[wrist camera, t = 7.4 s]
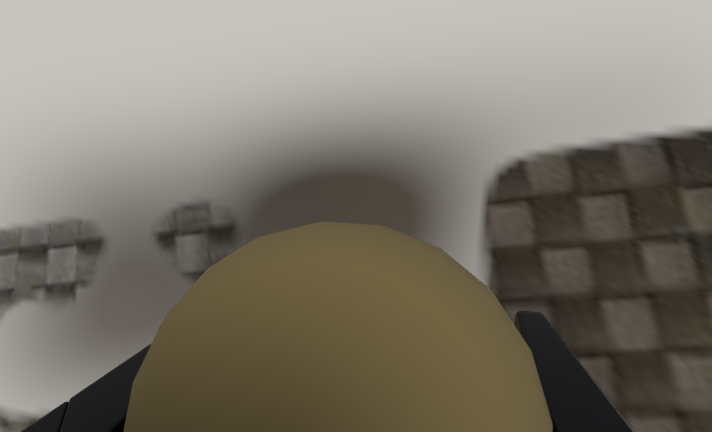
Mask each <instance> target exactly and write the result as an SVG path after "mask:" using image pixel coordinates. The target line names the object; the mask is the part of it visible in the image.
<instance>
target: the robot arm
mask: <svg viewBox="0 0 712 432" xmlns="http://www.w3.org/2000/svg"><path fill="white" fill-rule="evenodd" d="M514 325H515V327H516V328H517V330H518V331H519V333H520V334H521V336H522V337H523V339H524V340H525V342H526V344H527V345H528V347H529V348H530V350H531V351H532V355H533V358H534V362H535V365H536V369H537V372H538V375H539V379H540V382H541V386H542V389H543V393H544V396H545V399H546V403H547V406H548V410H549V413H550V417H551V420H552V423H553V432H634V431H633V430H632V428H631V427H630V426H629V424H628V423H627V422H626V421H625V419H624V418H623V417H622V415H621V414H620V413H619V412H618V410H617V409H616V408H615V406H614V405H613V404H612V403H611V401H610V400H609V399H608V397H607V396H606V395H605V394H604V392H603V391H602V390H601V388H600V387H599V386H598V385H597V383H596V382H595V381H594V379H593V378H592V377H591V376H590V374H589V373H588V372H587V370H586V369H585V368H584V367H583V365H582V364H581V363H580V361H579V360H578V359H577V358H576V356H575V355H574V354H573V352H572V351H571V350H570V349H569V347H568V346H567V345H566V343H565V342H564V341H563V340H562V338H561V337H560V336H559V334H558V333H557V332H556V331H555V329H554V328H553V327H552V325H551V324H550V323H549V322H548V320H547V319H546V318H545V316H544V315H543V314H541V313H539V312H531V311H518V312H517V313H516V317H515V323H514ZM151 344H152V343H151ZM151 344H150V345H148V346H147V347H145V348H144V349H142V350H141V351H140V352H138V353H137V354H135V355H134V356H132V357H131V358H129V359H128V360H126V361H125V362H123V363H122V364H120V365H119V366H118V367H116V368H115V369H113V370H112V371H110V372H109V373H107V374H106V375H104V376H103V377H102V378H100V379H98V380H97V381H95V382H94V383H93V384H91V385H89V386H88V387H87V388H85V389H84V390H82V391H81V392H79V393H78V394H76V395H75V396H74V397H72V398H71V399H70V400H69V402H64V403H63V404H61V405H60V406H59V407H57V408H55V409H54V410H52V411H51V412H49V413H48V414H47V415H45V416H44V417H42V418H41V419H39V420H37V421H36V422H34V423H33V424H31V425H30V426H28V427H27V428H25V429H24V430H22V431H21V432H123V431H124V426H125V421H126V416H127V410H128V405H129V400H130V395H131V390H132V385H133V381H134V379H135V377H136V375H137V373H138V371H139V369H140V367H141V365H142V363H143V361H144V359H145V357H146V354H147V352H148V350H149V348H150V346H151Z"/></svg>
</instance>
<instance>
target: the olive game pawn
mask: <svg viewBox="0 0 712 432" xmlns="http://www.w3.org/2000/svg"><path fill="white" fill-rule="evenodd" d="M123 432H553V423H552V420H551V417H550V413H549V410H548V406H547V403H546V399H545V396H544V393H543V389H542V386H541V382H540V379H539V375H538V372H537V369H536V365H535V362H534V358H533V355H532V351H531V350H530V348H529V347H528V345H527V344H526V342H525V340H524V339H523V337H522V336H521V334H520V333H519V331H518V330H517V328H516V327H515V325H514V324H513V322H512V321H511V319H510V318H509V316H508V315H507V313H506V311H505V310H504V308H503V307H502V305H501V304H500V302H499V301H498V299H497V298H496V296H495V295H494V293H493V292H492V290H490V289H489V288H488V287H487V286H485V285H484V284H483V283H482V282H481V281H479V280H478V279H477V278H476V277H475V276H473V275H472V274H471V273H470V272H469V271H467V270H466V269H465V268H464V267H462V266H461V265H460V264H459V263H458V262H456V261H455V260H454V259H453V258H451V257H450V256H449V255H448V254H447V253H445V252H444V251H443V250H442V249H441V248H438V247H436V246H433V245H431V244H428V243H426V242H423V241H421V240H418V239H416V238H413V237H411V236H409V235H406V234H404V233H401V232H399V231H396V230H393V229H391V228H389V227H386V226H384V225H369V224H354V223H340V222H327V221H325V222H318V223H313V224H309V225H305V226H301V227H297V228H293V229H289V230H285V231H281V232H277V233H273V234H269V235H265V236H261V237H257V238H256V239H254V240H253V241H251V242H249V243H248V244H246V245H244V246H243V247H241V248H240V249H238V250H236V251H235V252H233V253H232V254H230V255H228V256H227V257H225V258H223V259H222V260H220V261H219V262H217V263H215V264H214V265H212V266H211V267H209V268H208V269H207V270H206V271H205V272H204V273H203V274H202V275H201V276H200V278H199V279H198V280H197V281H196V282H195V283H194V284H193V286H192V287H191V288H190V289H189V290H188V291H187V292H186V293H185V295H184V296H183V297H182V298H181V299H180V300H179V301H178V303H177V304H176V305H175V306H174V307H173V308H172V309H171V310H170V312H169V313H168V314H167V316H166V317H165V319H164V321H163V323H162V324H161V326H160V328H159V330H158V332H157V334H156V336H155V338H154V340H153V342H152V344H151V346H150V348H149V350H148V352H147V354H146V357H145V359H144V361H143V363H142V365H141V367H140V369H139V371H138V373H137V375H136V377H135V379H134V381H133V385H132V390H131V395H130V400H129V405H128V410H127V416H126V421H125V426H124V431H123Z"/></svg>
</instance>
